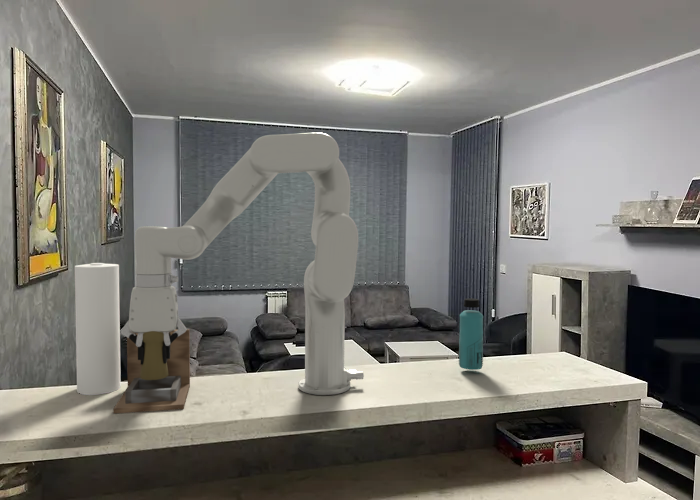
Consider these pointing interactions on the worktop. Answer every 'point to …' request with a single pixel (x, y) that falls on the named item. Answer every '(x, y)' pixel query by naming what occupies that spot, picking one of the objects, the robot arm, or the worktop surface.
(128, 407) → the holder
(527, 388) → the worktop surface
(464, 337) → the beverage bottle
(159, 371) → the cork
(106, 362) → the cylinder container
